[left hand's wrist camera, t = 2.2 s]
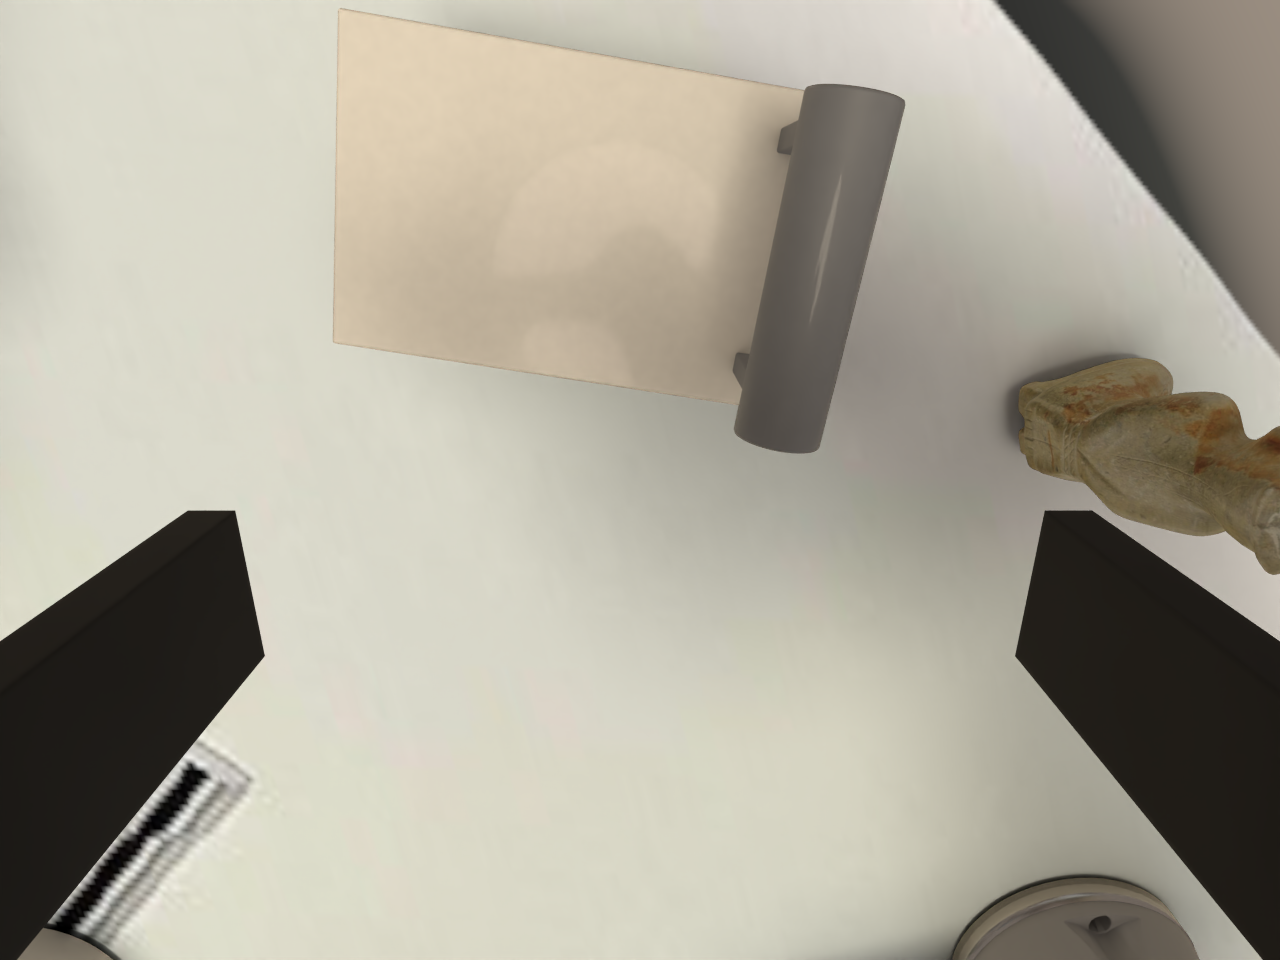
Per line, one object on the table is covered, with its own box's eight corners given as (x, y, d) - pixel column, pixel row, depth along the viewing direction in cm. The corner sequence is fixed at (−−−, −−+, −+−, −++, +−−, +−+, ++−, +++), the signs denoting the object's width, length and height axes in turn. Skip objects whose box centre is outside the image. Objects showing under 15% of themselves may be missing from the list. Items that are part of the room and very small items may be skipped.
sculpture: (1140, 452, 38) (1429, 598, 24) (996, 470, 39) (1199, 624, 25) (1151, 338, 36) (1472, 425, 22) (999, 358, 37) (1222, 457, 23)
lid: (866, 106, 23) (993, 54, 15) (795, 407, 27) (866, 503, 18) (350, 15, 23) (177, -95, 14) (343, 337, 26) (199, 405, 17)
